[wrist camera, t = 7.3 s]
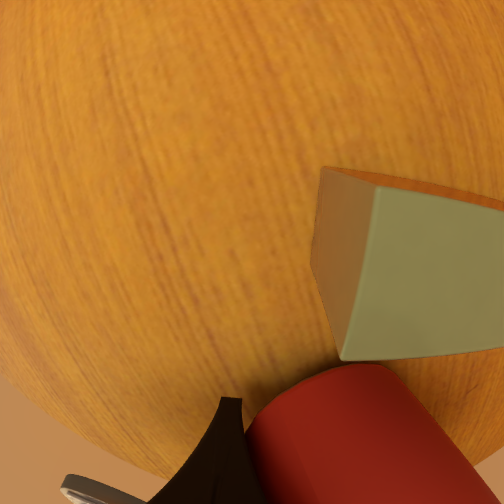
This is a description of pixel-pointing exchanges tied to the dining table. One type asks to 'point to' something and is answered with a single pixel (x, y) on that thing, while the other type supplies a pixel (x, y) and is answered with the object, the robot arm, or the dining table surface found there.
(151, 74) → the dining table surface
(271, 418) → the beer can
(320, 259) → the ceramic block
